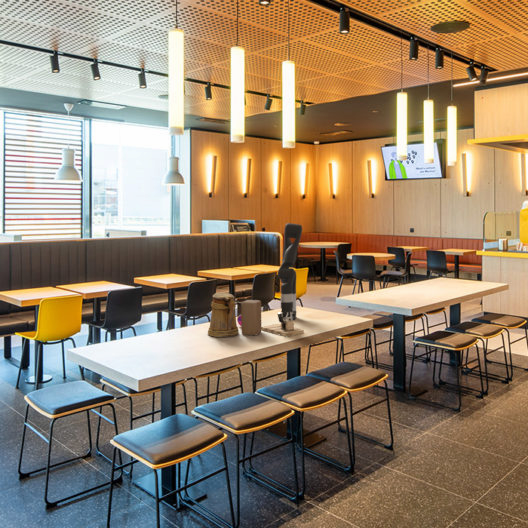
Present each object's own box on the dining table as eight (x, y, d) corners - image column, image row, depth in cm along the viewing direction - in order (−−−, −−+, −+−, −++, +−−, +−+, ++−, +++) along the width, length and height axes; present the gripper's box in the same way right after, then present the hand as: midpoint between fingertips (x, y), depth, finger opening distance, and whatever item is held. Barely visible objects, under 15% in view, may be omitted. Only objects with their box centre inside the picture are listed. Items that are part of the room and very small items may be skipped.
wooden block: (262, 332, 331) (261, 300, 329) (256, 335, 322) (256, 302, 320) (246, 331, 334) (246, 299, 332) (241, 334, 325) (240, 302, 323)
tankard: (227, 329, 340) (226, 290, 338) (248, 336, 321) (247, 295, 319) (202, 333, 330) (201, 293, 327) (222, 340, 311) (221, 298, 308)
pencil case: (244, 320, 368) (243, 307, 367) (257, 320, 366) (257, 307, 365) (236, 327, 347) (236, 313, 346) (250, 327, 345) (250, 313, 344)
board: (261, 330, 337) (261, 326, 336) (278, 326, 345) (278, 323, 345) (286, 336, 318) (286, 333, 318) (303, 333, 327) (303, 329, 327)
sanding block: (280, 329, 329) (280, 320, 329) (286, 328, 332) (286, 319, 332) (288, 331, 324) (288, 322, 323) (293, 329, 327) (293, 321, 326)
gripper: (291, 298, 334) (291, 325, 335) (273, 301, 325) (274, 329, 326) (299, 300, 328) (300, 327, 329) (282, 302, 319) (282, 331, 321)
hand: (287, 328), depth 328 cm, fingers closed on sanding block, 4 cm apart
